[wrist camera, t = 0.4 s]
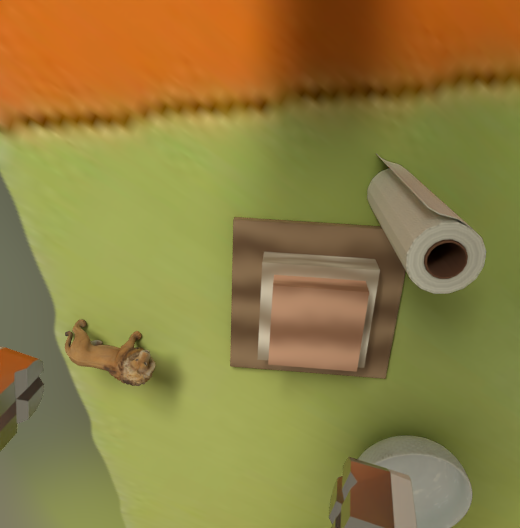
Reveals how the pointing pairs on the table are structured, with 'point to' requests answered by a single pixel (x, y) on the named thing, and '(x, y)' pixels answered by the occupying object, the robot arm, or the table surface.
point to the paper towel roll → (425, 232)
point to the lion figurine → (111, 356)
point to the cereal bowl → (426, 477)
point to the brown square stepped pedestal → (313, 297)
